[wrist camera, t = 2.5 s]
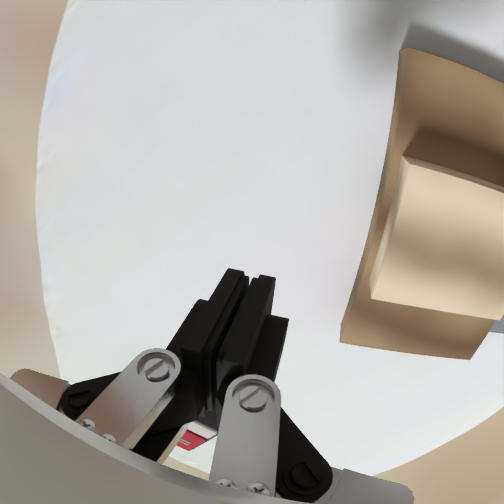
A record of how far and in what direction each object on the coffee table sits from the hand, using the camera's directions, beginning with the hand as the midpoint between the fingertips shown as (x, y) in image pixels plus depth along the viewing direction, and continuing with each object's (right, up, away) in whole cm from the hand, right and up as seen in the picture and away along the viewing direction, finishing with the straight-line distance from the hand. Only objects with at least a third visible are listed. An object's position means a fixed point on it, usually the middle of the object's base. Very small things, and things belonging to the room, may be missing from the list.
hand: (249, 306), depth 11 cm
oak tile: (+13, +3, +4) cm, 14 cm away
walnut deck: (+14, +4, +6) cm, 15 cm away
